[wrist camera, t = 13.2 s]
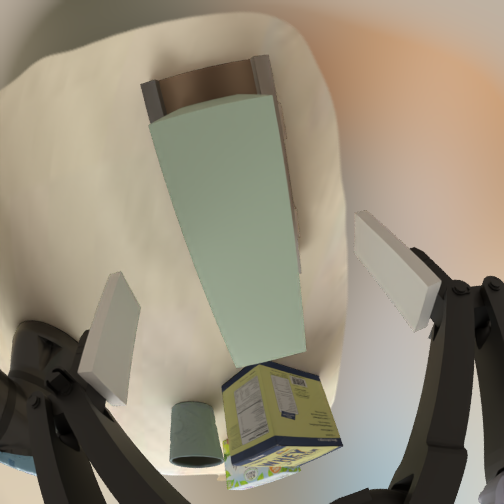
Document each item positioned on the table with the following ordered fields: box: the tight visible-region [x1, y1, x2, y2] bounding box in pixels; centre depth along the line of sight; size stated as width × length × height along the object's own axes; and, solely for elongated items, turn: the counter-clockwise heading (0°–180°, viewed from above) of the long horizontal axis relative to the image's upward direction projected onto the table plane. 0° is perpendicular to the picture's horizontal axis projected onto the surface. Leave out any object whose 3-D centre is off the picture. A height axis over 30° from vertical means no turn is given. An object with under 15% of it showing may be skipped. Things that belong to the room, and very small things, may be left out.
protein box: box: [221, 361, 343, 467], centre depth 41 cm, size 10×16×16 cm
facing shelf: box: [140, 55, 301, 274], centre depth 25 cm, size 11×22×3 cm, turn 11°
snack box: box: [223, 439, 301, 490], centre depth 53 cm, size 21×6×15 cm, turn 144°
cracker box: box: [149, 94, 306, 368], centre depth 20 cm, size 16×5×14 cm, turn 11°
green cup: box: [169, 402, 224, 468], centre depth 45 cm, size 10×10×12 cm
